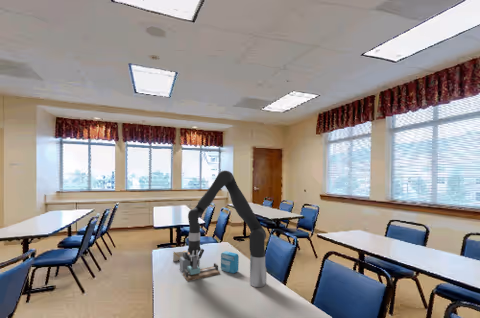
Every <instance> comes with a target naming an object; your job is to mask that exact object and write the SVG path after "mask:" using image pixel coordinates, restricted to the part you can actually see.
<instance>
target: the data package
mask: <svg viewBox="0 0 480 318" xmlns="http://www.w3.org/2000/svg"><path fill="white" fill-rule="evenodd" d="M239 257H240V256H239V254H238V253H237V252H231V251H228V250H225V251H223V252H222V253H221V254H220V270H221V271H224V272H227V273H230V274H235V273H238V272H239V263H240V262H239Z"/></svg>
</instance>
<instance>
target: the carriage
mask: <svg viewBox="0 0 480 318" xmlns="http://www.w3.org/2000/svg"><path fill="white" fill-rule="evenodd" d="M192 261H193V267H191V266H188V272H189V273H190V274H191V275H193V274H198V273H200V269H201V267H200V266H199V267H198V266H197V257H196V256H195V255H194V256H193V260H192Z"/></svg>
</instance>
